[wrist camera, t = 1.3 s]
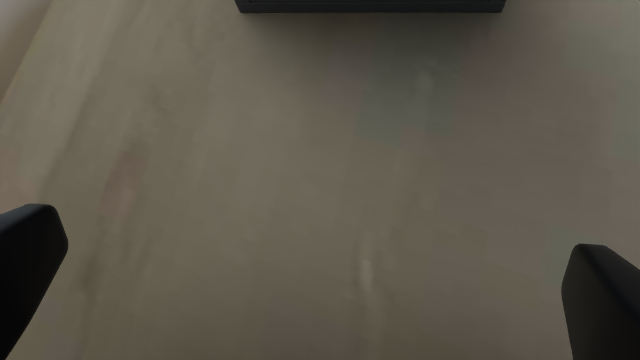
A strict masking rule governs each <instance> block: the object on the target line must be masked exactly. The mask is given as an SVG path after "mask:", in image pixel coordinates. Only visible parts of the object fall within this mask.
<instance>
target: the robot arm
mask: <svg viewBox="0 0 640 360" xmlns="http://www.w3.org/2000/svg"><path fill="white" fill-rule="evenodd" d="M67 250H68V239H67V236H66V233H65V231H64V228H63V225H62V223H61V220H60V217H59V215H58V212H57V210H56V209H55V208H54V207H53V206H51V205H46V204H27V205H24V206H22V207H19V208H16V209H14V210H11V211H9V212H6V213H3V214H1V215H0V360H6V358H7V357H8V355H9V353H10V352H11V350H12V349H13V347H14V346H15V344H16V343H17V341H18V340H19V338H20V337H21V335H22V334H23V332H24V331H25V329H26V327H27V326H28V324H29V322H30V321H31V319H32V317H33V315H34V314H35V312H36V310H37V308H38V306H39V304H40V302H41V301H42V299H43V297H44V295H45V293H46V291H47V289H48V287H49V286H50V284H51V282H52V280H53V278H54V276H55V274H56V272H57V271H58V269H59V267H60V265H61V263H62V261H63V259H64V257H65V255H66V253H67ZM561 293H562V301H563V306H564V312H565V317H566V323H567V328H568V333H569V339H570V344H571V349H572V355H573V360H640V270H639V269H638V268H636V267H635V266H634V265H632V264H631V263H629V262H628V261H627V260H625V259H624V258H622V257H621V256H619V255H618V254H617V253H615V252H614V251H612V250H611V249H610V248H608V247H606V246H604V245H594V244H578V245H576V246H575V247H574V248H573V250H572V253H571V256H570V259H569V262H568V266H567V269H566V272H565V275H564V278H563V282H562V289H561Z"/></svg>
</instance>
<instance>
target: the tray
mask: <svg viewBox="0 0 640 360" xmlns="http://www.w3.org/2000/svg"><path fill="white" fill-rule="evenodd" d="M505 1H506V0H235V2H236V4H237V7H238V9H239V11H240V12H502V10H503V7H504V4H505Z"/></svg>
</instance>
